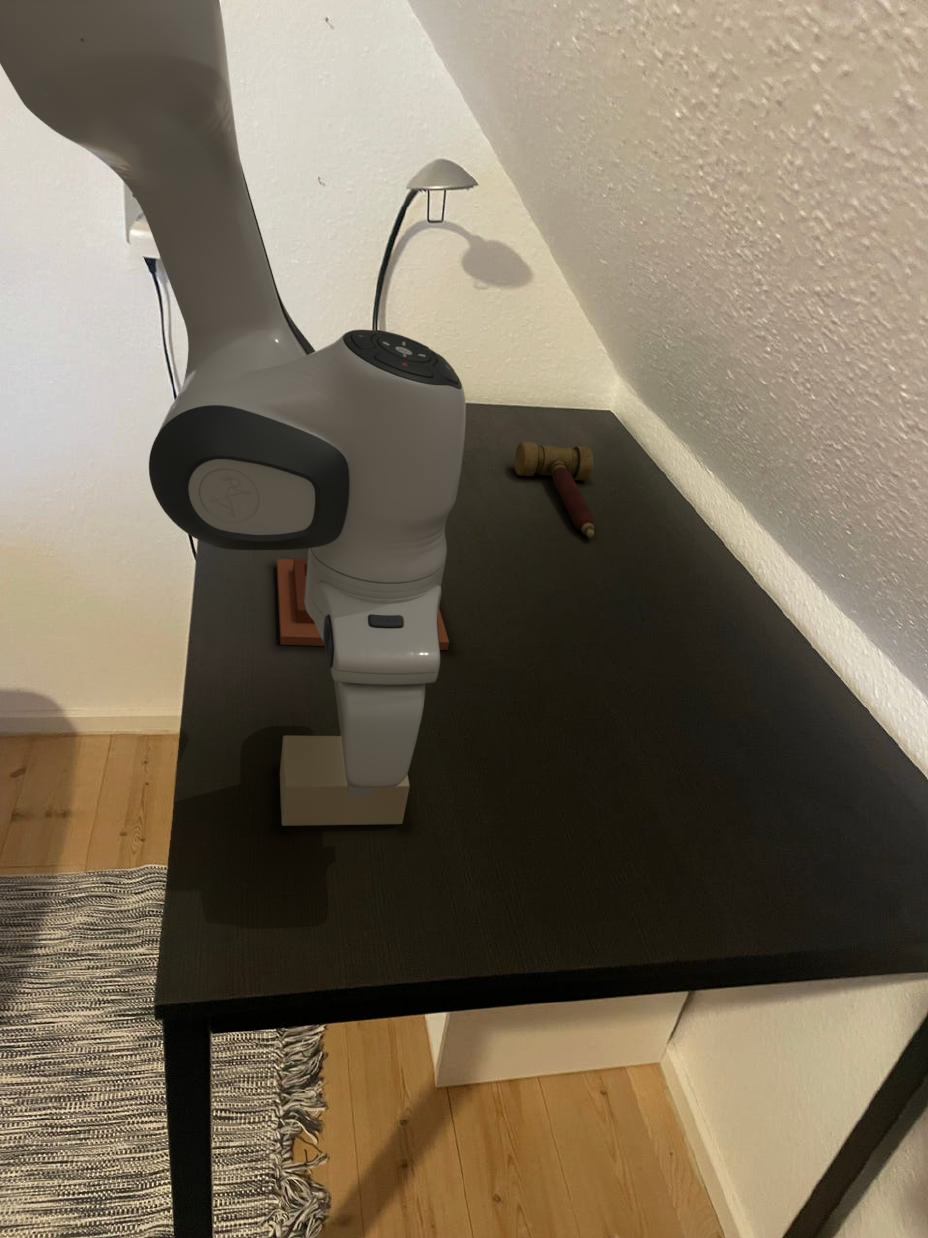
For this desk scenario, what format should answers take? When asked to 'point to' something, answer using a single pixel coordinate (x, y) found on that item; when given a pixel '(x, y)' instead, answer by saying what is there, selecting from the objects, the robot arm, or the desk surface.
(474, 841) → the desk surface
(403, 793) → the top pad
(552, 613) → the desk surface
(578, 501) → the gavel
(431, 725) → the desk surface
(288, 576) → the base pad
